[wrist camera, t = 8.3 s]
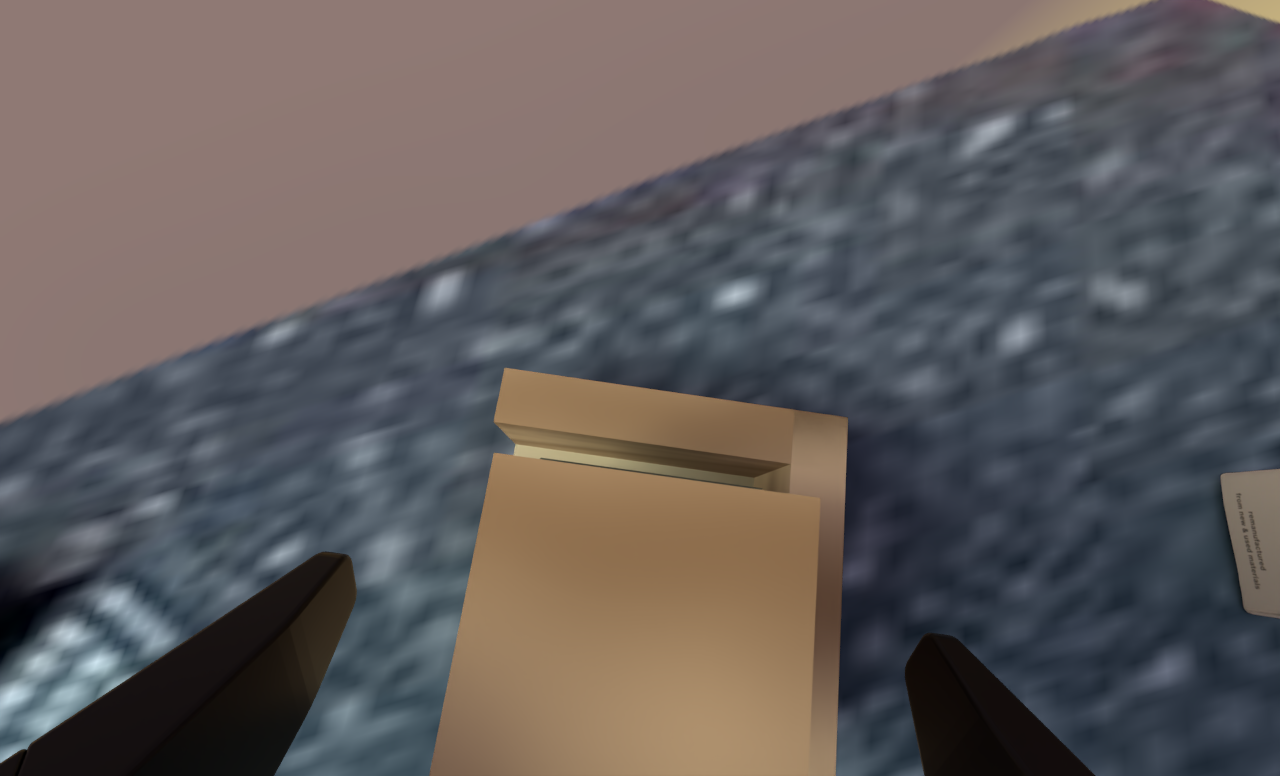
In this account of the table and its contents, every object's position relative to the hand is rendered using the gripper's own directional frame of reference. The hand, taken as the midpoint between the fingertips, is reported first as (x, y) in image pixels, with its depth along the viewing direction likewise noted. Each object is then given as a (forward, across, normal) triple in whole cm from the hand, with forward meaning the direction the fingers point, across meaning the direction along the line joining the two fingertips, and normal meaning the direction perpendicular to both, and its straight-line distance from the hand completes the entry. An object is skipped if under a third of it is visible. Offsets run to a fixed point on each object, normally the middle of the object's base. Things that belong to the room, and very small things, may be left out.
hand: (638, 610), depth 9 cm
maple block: (+6, 0, +7) cm, 9 cm away
